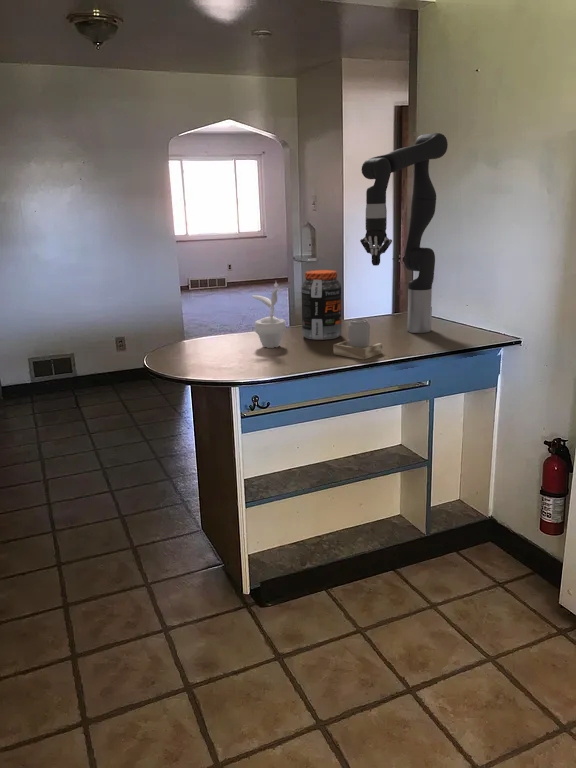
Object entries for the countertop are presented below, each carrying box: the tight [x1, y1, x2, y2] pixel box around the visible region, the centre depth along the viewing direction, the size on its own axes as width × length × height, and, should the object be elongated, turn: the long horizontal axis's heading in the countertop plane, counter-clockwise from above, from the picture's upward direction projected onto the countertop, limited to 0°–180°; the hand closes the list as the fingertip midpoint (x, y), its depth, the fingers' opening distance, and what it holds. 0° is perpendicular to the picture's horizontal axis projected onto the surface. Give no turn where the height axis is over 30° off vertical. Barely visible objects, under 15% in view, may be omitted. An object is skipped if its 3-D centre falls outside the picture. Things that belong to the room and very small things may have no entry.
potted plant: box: [251, 281, 287, 349], centre depth 237 cm, size 13×12×25 cm
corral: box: [332, 339, 383, 360], centre depth 225 cm, size 11×13×4 cm
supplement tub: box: [301, 269, 342, 341], centre depth 250 cm, size 16×16×26 cm
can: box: [347, 318, 371, 349], centre depth 225 cm, size 8×8×12 cm
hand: (375, 265), depth 233 cm, fingers closed
